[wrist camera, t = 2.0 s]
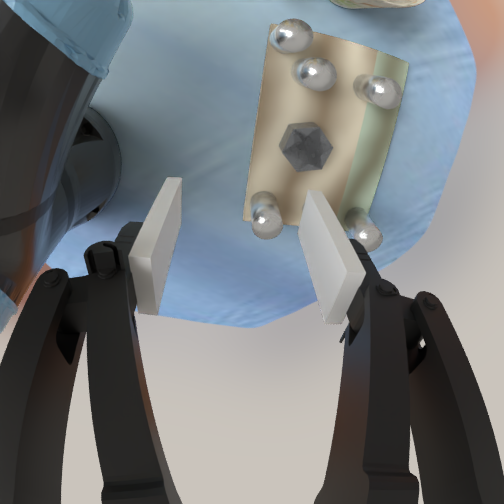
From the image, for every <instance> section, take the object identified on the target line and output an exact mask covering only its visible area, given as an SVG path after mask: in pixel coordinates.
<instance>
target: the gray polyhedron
mask: <svg viewBox="0 0 504 504" xmlns="http://www.w3.org/2000/svg"><path fill="white" fill-rule="evenodd" d="M279 148H280V150H281V152H282V153H283V155H284V156H285V157H286V158H287V160H288V161H289V162H290V164H291V165H292V166H293V168H294V169H295V170H296V172H302V171H311V170H322V168H323V166H324V164H325V162H326V161H327V159H328V157H329V155H330V153H331V151H332V149H333V146H332V145H331V143H330V142H329V140H328V139H327V137H326V136H325V134H324V133H323V131H322V130H321V128H320V127H319V126H318V125H317V124H315V123H314V122H304V123H292V124H288V126H287V129H286V131H285V133H284V135H283V137H282V139H281V141H280V143H279Z"/></svg>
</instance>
